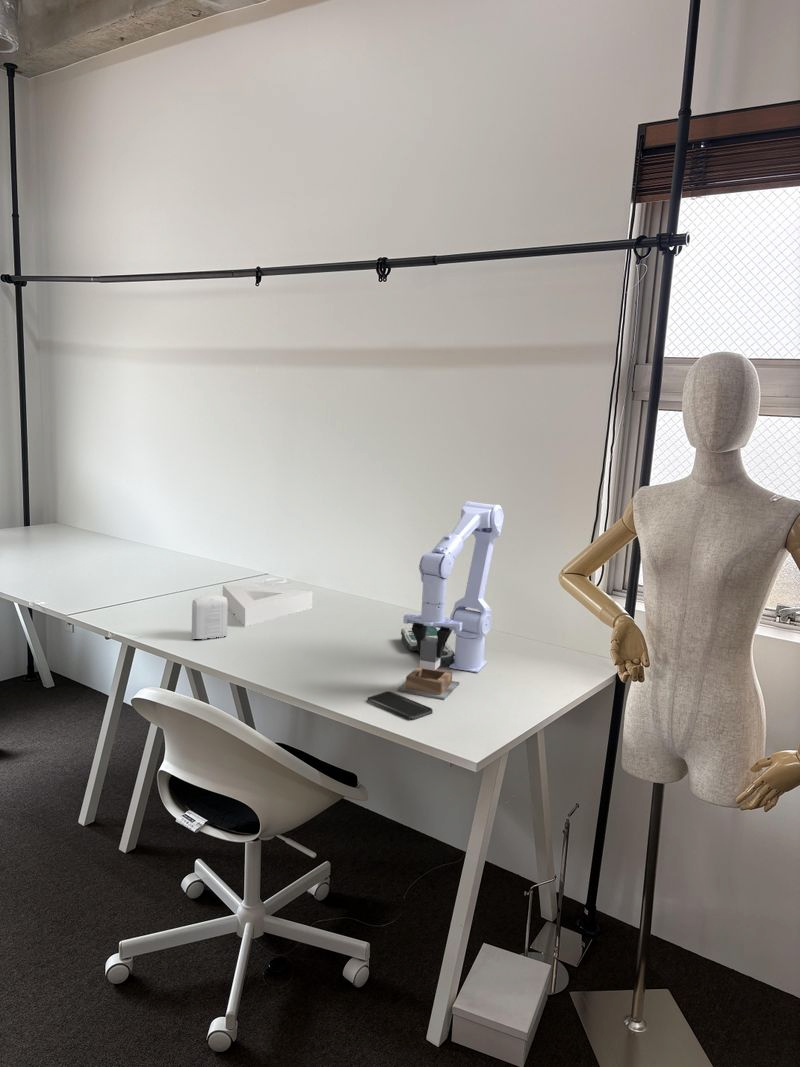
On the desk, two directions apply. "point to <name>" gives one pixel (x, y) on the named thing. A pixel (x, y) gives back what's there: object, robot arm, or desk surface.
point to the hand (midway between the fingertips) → (430, 655)
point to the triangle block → (265, 602)
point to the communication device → (411, 641)
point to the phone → (400, 705)
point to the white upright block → (209, 617)
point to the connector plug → (429, 653)
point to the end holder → (429, 683)
